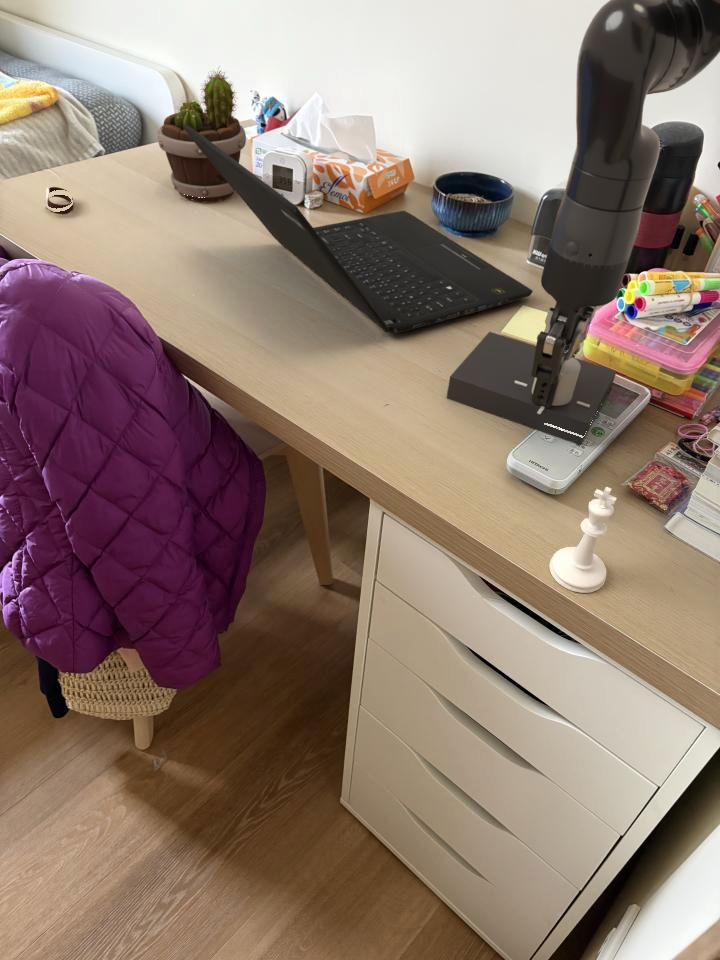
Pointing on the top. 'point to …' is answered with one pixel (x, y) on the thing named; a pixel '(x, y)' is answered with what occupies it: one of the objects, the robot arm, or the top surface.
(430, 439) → the top surface
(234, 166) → the laptop
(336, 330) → the top surface
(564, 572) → the chess piece
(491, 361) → the dark grey flat block
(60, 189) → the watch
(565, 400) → the knob
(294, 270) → the top surface
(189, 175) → the flowerpot
